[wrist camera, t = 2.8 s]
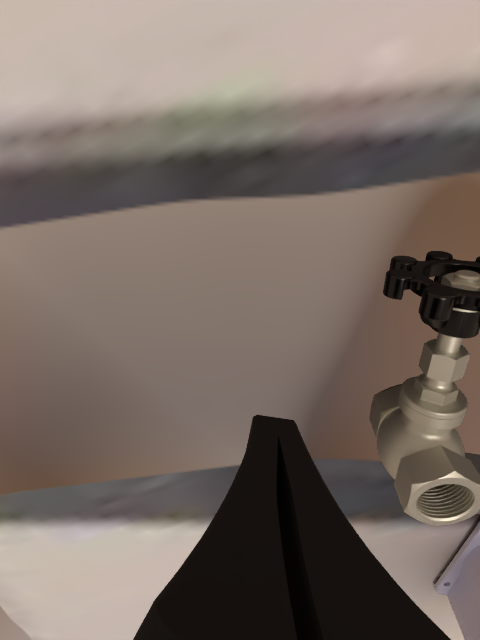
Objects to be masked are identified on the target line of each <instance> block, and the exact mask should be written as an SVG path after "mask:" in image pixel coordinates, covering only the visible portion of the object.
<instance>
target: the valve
mask: <svg viewBox="0 0 480 640" xmlns="http://www.w3.org/2000/svg"><path fill="white" fill-rule="evenodd" d="M432 276H435V278H434V281H433V280H431V279H429V278H428V277H432ZM407 289H411V290H412V291H413V292H414V293H416V294H417V295H419V296H421V297H422V299H421V303H420V307H419V313H420V316H421V319H422V321H423V322H424V323H425V324H427V325H429V326H430V327H431V328H432V329H434V330H435V331H436V332H438V336H437V339H433V340H430V341H428V342H426V343H424V347H423V351H422V355H421V359H420V363H419V366H420V368H421V369H422V371H423V372H424V374H421V375H419V376H418V377H412V378H409V379H407V380H406V381H405V382H403V384H399V385H396V386H393V387H389V388H387V389H385V390H383V391H381V392H379V393H377V394H376V395H374V397H373V401H372V405H371V412H370V422H371V424H372V427H373V429H374V432H375V435H376V437H377V449H378V453H379V457H380V459H381V462H382V463H383V465H384V467H385V469H386V470H387V471H388V473H389V474H390V475H391V476H392V477H393V478H394V479H395V482H394V486H395V489H396V492H397V494H398V497H399V500H400V502H401V505H402V508H403V510H404V512H405V513H407V514H408V515H410V516H411V517H413V518H415V519H417V520H419V521H420V522H423V523H426V524H429V525H433V526H442V525H450V524H455V523H458V522H461V521H464V520H466V519H468V518H470V517H472V516H474V515H475V514H476V513H477V512H478V511H479V510H480V475H479V473H478V471H477V470H476V468H475V467H474V465H473V463H472V462H471V460H469V459H467V458H465V451H464V446H463V443H462V440H461V438H460V436H459V434H458V432H457V431H456V429H455V428H456V427H458V426H459V425H460V424H461V423H462V421H463V419H464V416H465V413H466V410H467V407H468V401H467V398H466V396H465V395H464V394H463V393H462V391H461V390H459V389H458V388H457V386H456V384H455V383H454V381H457V380H459V379H461V378H463V376H464V373H465V370H466V367H467V364H468V361H469V357H470V354H469V352H468V351H467V349H466V348H465V347H464V346H463V345H461V343H462V340H463V338H471V337H474V336H476V335H477V334H478V333H479V330H480V257H477V259H476V261H475V262H471V261H461V260H456V259H453V257H452V255H451V254H450V253H447V252H443V251H431V252H428V253H427V256H426V260H425V261H417V260H416V259H415V258H412V257H409V256H395V257H393V258H392V259H391V264H390V270H389V271H388V272H387V273H386V279H385V284H384V290H383V294H384V295H385V296H387V297H390V298H393V299H399V300H401V299H402V296H403V291H404V290H407Z"/></svg>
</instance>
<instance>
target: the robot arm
mask: <svg viewBox="0 0 480 640" xmlns="http://www.w3.org/2000/svg"><path fill="white" fill-rule="evenodd" d="M434 588H435V590H436V592H437V593H439V594H445V595H447V596H448V599H449V601H450V604H451V606H452V609H453V611H454V614H455V616H456V619H457V621H458V624H459V626H460V629H461V631H462V634H463V636H464V639H465V640H480V522H479V523H478V525H477V526H476V528H475V529H474V530H473V532H472V533H471V535H470V536H469V537H468V539H467V540H466V542H465V543H464V544H463V546H462V547H461V549H460V550H459V551H458V553H457V554H456V556H455V557H454V559H453V560H452V561H451V563H450V564H449V566H448V567H447V568H446V570H445V571H444V573H443V574H442V575H441V577H440V578H439V580H438V581H437V582H436V584H435V585H434ZM133 640H451V639H450V638H449V637H448V636H447V635H446V634H445V633H444V632H443V631H442V630H441V629H440V628H439V627H438V626H437V625H436V624H435V623H434V622H433V621H432V620H431V619H430V618H429V617H428V616H427V615H426V614H425V613H424V612H423V611H422V610H421V609H420V608H419V607H418V606H417V605H416V604H415V603H414V602H413V601H412V600H411V599H410V597H409V596H408V595H407V594H406V593H405V592H404V591H403V590H402V589H401V588H400V586H399V585H398V584H397V583H396V582H395V581H394V579H393V578H392V577H391V576H390V575H389V573H388V572H387V571H386V570H385V569H384V567H383V566H382V565H381V564H380V562H379V561H378V560H377V559H376V558H375V556H374V555H373V554H372V553H371V551H370V550H369V549H368V548H367V546H366V545H365V543H364V542H363V541H362V539H361V538H360V537H359V535H358V534H357V533H356V531H355V530H354V528H353V527H352V526H351V524H350V523H349V521H348V520H347V518H346V517H345V515H344V514H343V512H342V511H341V509H340V508H339V506H338V504H337V503H336V501H335V500H334V498H333V496H332V495H331V493H330V491H329V490H328V488H327V486H326V484H325V483H324V481H323V479H322V477H321V475H320V473H319V472H318V470H317V468H316V466H315V464H314V462H313V460H312V458H311V456H310V454H309V452H308V450H307V448H306V446H305V444H304V442H303V439H302V437H301V435H300V432H299V430H298V427H297V425H296V423H295V422H294V420H288V419H281V418H275V417H268V416H261V415H256V416H254V417H253V420H252V425H251V429H250V434H249V439H248V444H247V448H246V453H245V455H244V458H243V460H242V463H241V466H240V468H239V470H238V472H237V474H236V477H235V479H234V481H233V483H232V485H231V487H230V489H229V491H228V493H227V495H226V497H225V499H224V501H223V503H222V504H221V506H220V508H219V510H218V512H217V513H216V515H215V517H214V518H213V520H212V522H211V523H210V525H209V526H208V528H207V530H206V531H205V533H204V534H203V536H202V537H201V539H200V541H199V542H198V543H197V545H196V546H195V548H194V549H193V551H192V552H191V553H190V555H189V556H188V558H187V559H186V560H185V562H184V563H183V565H182V566H181V568H180V569H179V570H178V572H177V573H176V574H175V575H174V577H173V578H172V579H171V580H170V582H169V583H168V584H167V585H166V587H165V588H164V589H163V591H162V592H161V593H160V594H159V596H158V597H157V598H156V599H155V601H154V602H153V604H152V606H151V608H150V610H149V612H148V613H147V615H146V617H145V619H144V621H143V622H142V624H141V626H140V628H139V630H138V632H137V633H136V635H135V637H134V639H133Z"/></svg>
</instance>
